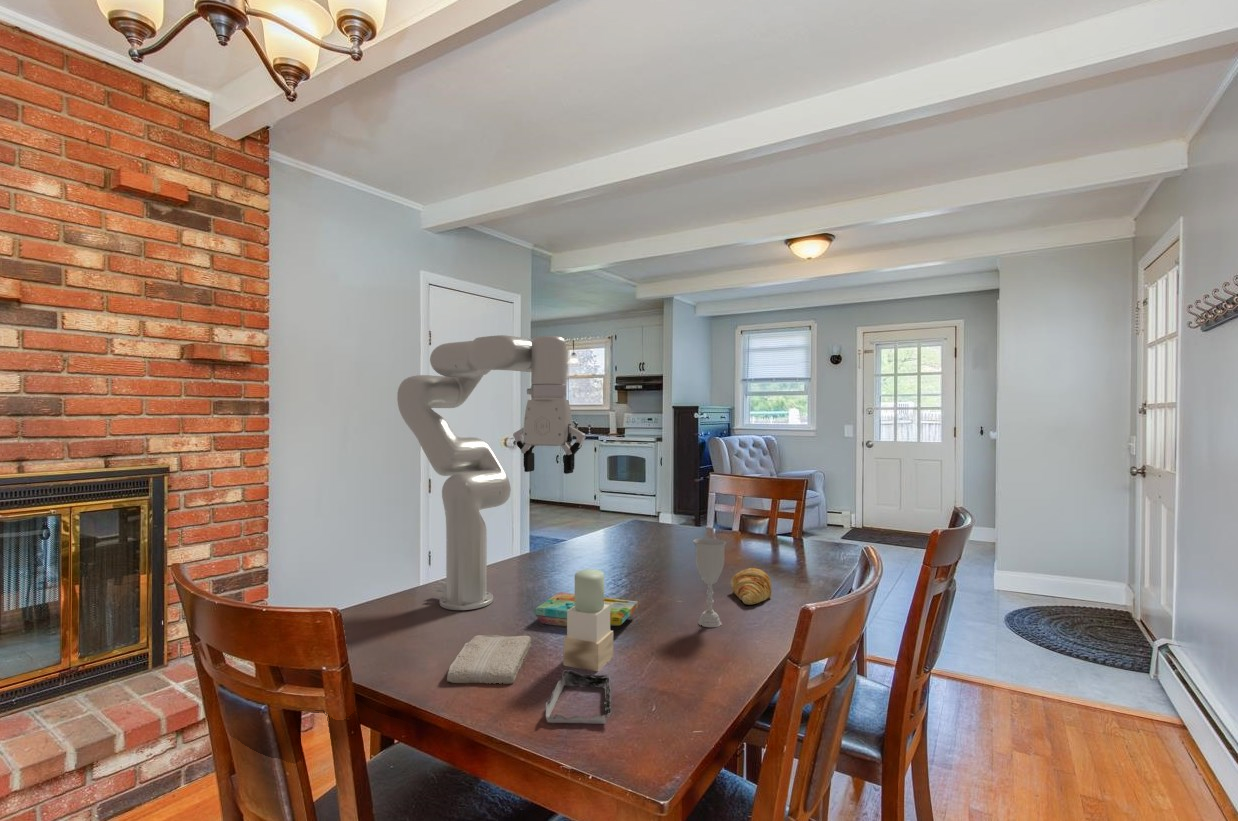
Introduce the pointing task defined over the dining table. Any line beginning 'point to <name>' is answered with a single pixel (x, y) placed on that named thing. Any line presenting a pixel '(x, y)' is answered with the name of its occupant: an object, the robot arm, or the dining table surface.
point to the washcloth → (489, 660)
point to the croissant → (751, 585)
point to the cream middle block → (588, 624)
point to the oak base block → (588, 653)
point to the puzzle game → (561, 602)
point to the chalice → (709, 573)
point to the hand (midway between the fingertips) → (548, 472)
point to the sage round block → (589, 590)
